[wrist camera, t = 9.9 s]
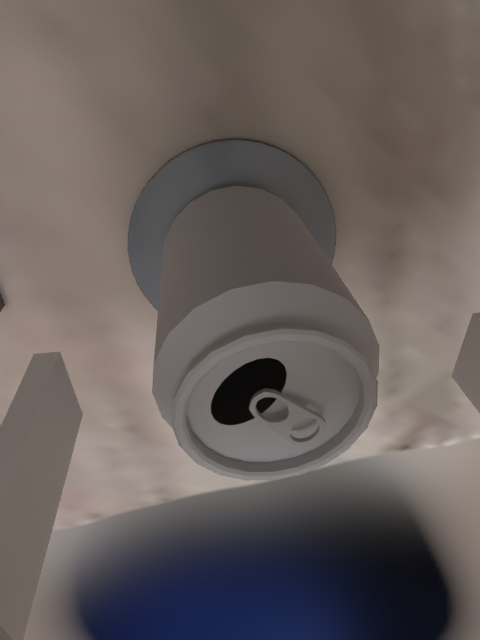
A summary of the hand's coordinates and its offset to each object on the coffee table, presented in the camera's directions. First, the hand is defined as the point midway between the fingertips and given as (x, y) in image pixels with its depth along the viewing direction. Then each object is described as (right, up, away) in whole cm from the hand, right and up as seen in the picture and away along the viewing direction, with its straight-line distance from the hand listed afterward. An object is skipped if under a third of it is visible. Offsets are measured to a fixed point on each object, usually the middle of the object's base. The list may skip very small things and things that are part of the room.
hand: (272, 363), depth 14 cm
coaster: (-1, +5, +9) cm, 11 cm away
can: (-1, +5, +9) cm, 10 cm away
